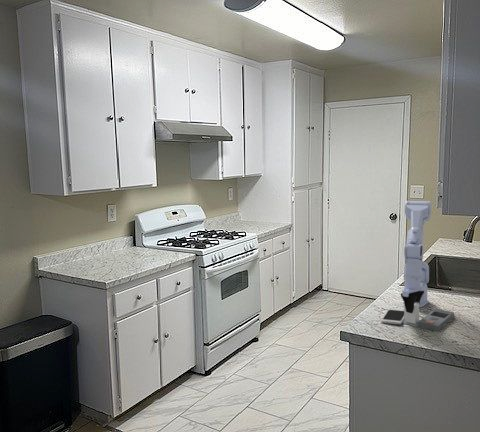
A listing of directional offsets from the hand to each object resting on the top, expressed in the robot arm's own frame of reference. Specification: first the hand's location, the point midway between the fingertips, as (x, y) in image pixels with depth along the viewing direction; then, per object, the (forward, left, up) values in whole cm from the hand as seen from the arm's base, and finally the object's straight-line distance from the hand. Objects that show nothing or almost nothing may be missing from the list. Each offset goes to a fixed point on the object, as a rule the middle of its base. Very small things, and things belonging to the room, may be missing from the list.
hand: (412, 310), depth 168 cm
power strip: (-6, +7, -5) cm, 10 cm away
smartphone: (-1, -7, -4) cm, 8 cm away
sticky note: (0, 0, -5) cm, 5 cm away
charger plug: (0, 0, -4) cm, 4 cm away
